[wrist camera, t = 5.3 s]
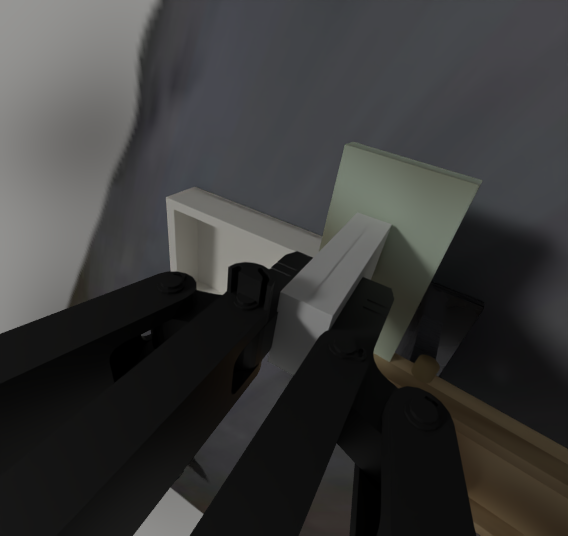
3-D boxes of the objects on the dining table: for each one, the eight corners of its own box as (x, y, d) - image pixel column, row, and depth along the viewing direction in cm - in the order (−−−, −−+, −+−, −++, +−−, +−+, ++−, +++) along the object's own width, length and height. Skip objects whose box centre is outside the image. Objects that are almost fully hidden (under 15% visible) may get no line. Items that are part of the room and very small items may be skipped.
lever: (354, 141, 13) (325, 150, 11) (1070, 354, 7) (1268, 453, 5) (292, 379, 22) (271, 404, 20) (573, 570, 16) (578, 633, 14)
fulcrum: (414, 275, 20) (396, 321, 16) (484, 302, 18) (482, 359, 15) (370, 368, 25) (349, 420, 21) (422, 395, 24) (409, 455, 20)
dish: (194, 186, 25) (166, 197, 23) (340, 243, 21) (322, 262, 19) (195, 281, 31) (172, 297, 28) (312, 340, 27) (295, 364, 24)
